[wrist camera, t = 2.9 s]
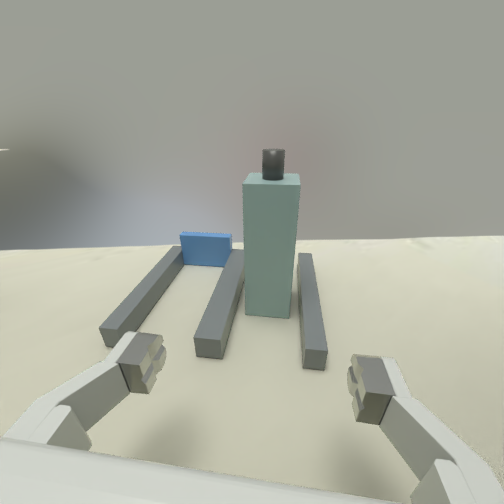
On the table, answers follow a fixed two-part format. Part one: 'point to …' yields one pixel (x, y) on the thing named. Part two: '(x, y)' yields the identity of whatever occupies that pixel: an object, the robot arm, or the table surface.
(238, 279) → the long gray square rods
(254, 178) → the capped teal pillar
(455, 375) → the table surface
